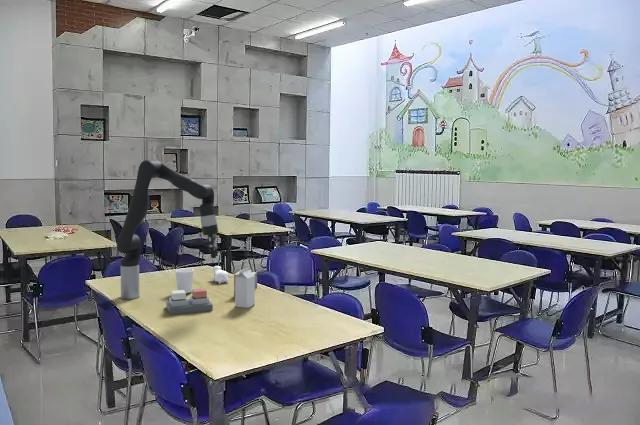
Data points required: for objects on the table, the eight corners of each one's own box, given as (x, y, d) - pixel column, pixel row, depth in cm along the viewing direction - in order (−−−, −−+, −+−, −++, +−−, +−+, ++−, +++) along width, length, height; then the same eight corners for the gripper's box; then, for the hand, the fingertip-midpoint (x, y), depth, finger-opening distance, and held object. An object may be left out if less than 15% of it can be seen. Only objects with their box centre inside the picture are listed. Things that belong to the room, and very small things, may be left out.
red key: (194, 298, 254) (194, 291, 253) (192, 295, 259) (192, 289, 259) (206, 296, 256) (206, 290, 256) (204, 294, 262) (204, 288, 261)
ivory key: (173, 299, 250) (173, 293, 249) (171, 296, 255) (171, 290, 255) (185, 298, 252) (185, 292, 252) (183, 295, 258) (183, 289, 257)
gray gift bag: (246, 287, 302) (247, 266, 301) (257, 287, 301) (257, 266, 300) (233, 296, 282) (233, 274, 280) (244, 297, 280) (244, 274, 279)
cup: (183, 296, 280) (182, 272, 279) (171, 293, 286) (171, 270, 284) (197, 292, 288) (197, 270, 286) (186, 289, 294) (186, 267, 292)
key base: (170, 314, 246) (170, 303, 245) (166, 307, 259) (166, 296, 258) (212, 310, 254) (212, 299, 253) (206, 303, 267) (206, 292, 266)
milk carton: (254, 304, 265) (254, 268, 263) (247, 308, 259) (247, 270, 257) (242, 303, 268) (242, 266, 266) (235, 306, 262) (235, 269, 260)
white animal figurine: (229, 287, 314) (221, 273, 325) (231, 275, 310) (223, 262, 321) (216, 289, 309) (208, 275, 320) (217, 277, 306) (209, 263, 317)
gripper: (203, 225, 264) (208, 256, 264) (199, 226, 249) (205, 260, 250) (218, 222, 264) (223, 254, 265) (215, 224, 250) (220, 257, 251)
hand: (214, 257), depth 257 cm, fingers open, 8 cm apart
